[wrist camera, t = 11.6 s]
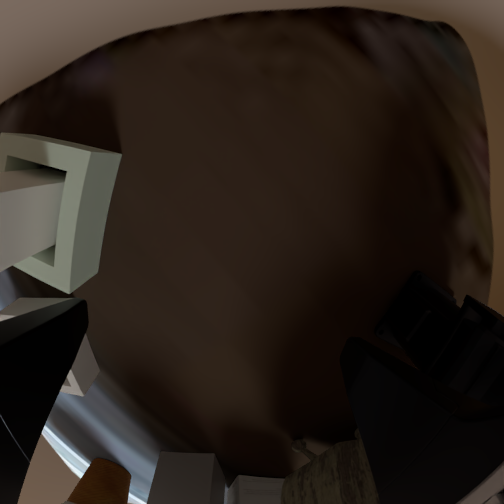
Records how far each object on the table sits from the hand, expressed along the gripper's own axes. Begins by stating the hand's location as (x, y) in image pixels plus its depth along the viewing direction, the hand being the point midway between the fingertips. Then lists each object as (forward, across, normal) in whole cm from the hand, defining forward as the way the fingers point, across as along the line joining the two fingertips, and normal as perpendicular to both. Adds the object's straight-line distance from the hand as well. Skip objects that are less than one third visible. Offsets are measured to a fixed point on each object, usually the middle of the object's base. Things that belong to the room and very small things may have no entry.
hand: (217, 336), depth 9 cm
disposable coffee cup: (+12, +12, +38) cm, 42 cm away
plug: (+13, +14, -1) cm, 19 cm away
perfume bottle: (+12, 0, +29) cm, 32 cm away
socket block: (+13, +14, -1) cm, 19 cm away
